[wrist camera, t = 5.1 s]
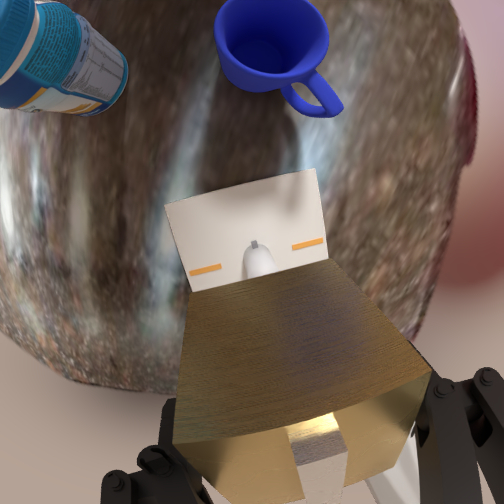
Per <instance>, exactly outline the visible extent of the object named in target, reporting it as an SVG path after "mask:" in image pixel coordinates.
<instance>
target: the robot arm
mask: <svg viewBox="0 0 504 504" xmlns="http://www.w3.org/2000/svg"><path fill="white" fill-rule="evenodd" d="M407 341H408V340H407ZM408 342H409V343H410V344H411V346H412V347H413V348H414V349H415V350H416V348H415V347H414V345H413V344H412V343H411V342H410V341H408ZM416 351H417V353H418V354H419V355H420V356H421V354H420V352H419V351H418V350H416ZM421 357H422V358H423V360H424V361H425V362H426V363H427V364H428V366H429V367H430V368H431V369H432V373H431V376H430V379H429V382H428V386H427V389H426V392H425V395H424V398H423V400H422V403H421V406H420V409H419V411H418V414H417V417H416V419H415V424H414V427H413V429H412V432H411V437H413V436H414V433H415V440H416V449H417V458H418V470H419V486H420V504H483V501H482V493H481V484H480V477H479V471H478V465H477V462H478V464H479V466H480V468H481V470H482V472H483V474H484V477H485V479H486V481H487V484H488V486H489V488H490V490H491V493H492V495H493V497H494V500H495V503H496V504H504V380H503V378H502V377H501V376H500V374H499V373H498V372H497V371H496V370H494V369H493V368H490V367H484V368H481V369H479V370H478V371H477V372H476V373H475V375H474V377H473V378H472V379H468V380H464V381H461V382H453V381H452V380H450V379H446V378H441V377H440V376H439V375H438V374H437V373H436V371H434V369H433V368H432V367H431V365H430V364H429V363H428V362H427V361H426V360H425V358H424V357H423V356H421ZM175 406H176V398H171V399H168V400H167V401H166V403H165V405H164V406H163V409H162V416H161V418H162V420H161V423H160V426H161V427H160V431H159V440H158V445H151V446H148V447H146V448H144V449H143V450H142V451H141V452H140V453H139V455H138V458H137V465H138V466H139V467H140V468H141V469H142V470H141V471H138V472H135V473H131V474H127V473H125V472H124V471H122V470H113V471H110V472H108V473H107V474H106V475H105V476H104V478H103V480H102V486H101V503H100V504H214V503H213V502H212V500H211V498H210V496H209V494H208V492H207V490H206V488H205V487H204V485H203V484H202V475H201V474H200V473H199V472H198V471H197V470H196V469H195V468H194V467H193V466H192V465H191V464H190V463H189V462H188V461H187V460H186V459H185V458H184V457H183V456H182V454H181V453H180V452H179V451H178V450H177V449H176V448H175V447H174V445H173V444H172V441H173V428H174V417H175ZM411 437H410V438H411Z"/></svg>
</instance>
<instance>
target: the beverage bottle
mask: <svg viewBox="0 0 504 504" xmlns="http://www.w3.org/2000/svg"><path fill="white" fill-rule="evenodd" d="M127 79H128V64H127V61H126V59H125V57H124V55H123V54H122V53H121V52H120V51H119V50H118V49H117V48H115V47H114V46H113V45H112V44H110V43H109V42H108V41H107V40H106V39H105V38H104V37H103V36H101V35H100V34H99V33H98V32H97V31H96V30H95V29H94V28H92V26H91V25H90V23H89V22H88V21H87V20H86V19H85V18H84V17H82V16H81V15H79V14H77V13H75V12H72V10H71V9H70V8H69V7H68V6H66V5H65V4H62V3H60V2H56V1H36V2H35V1H34V0H0V107H1V108H4V109H18V110H21V111H25V112H42V111H52V112H61V113H68V114H74V115H77V116H93V115H96V114H99V113H101V112H103V111H105V110H106V109H108V108H109V107H110V106H112V105H113V104H114V103H115V102H116V101H117V99H118V98H119V97H120V95H121V94H122V92H123V90H124V88H125V86H126V83H127Z"/></svg>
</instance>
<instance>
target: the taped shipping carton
mask: <svg viewBox="0 0 504 504" xmlns="http://www.w3.org/2000/svg"><path fill="white" fill-rule="evenodd" d="M431 373H432V369H431V368H430V367H429V366H428V364H427V363H426V362H425V361H424V360H423V358H422V357H421V356H420V355H419V354H418V353H417V351H416V350H415V349H414V348H413V347H412V346H411V344H410V343H409V342H408V341H407V340H406V339H405V337H404V336H403V335H402V334H401V333H400V332H399V331H398V330H397V328H396V327H395V326H394V325H393V324H392V323H391V322H390V321H389V319H388V318H387V317H386V316H385V315H384V314H383V313H382V312H381V311H380V309H379V308H378V307H377V306H376V305H375V304H374V303H373V302H372V301H371V300H370V299H369V298H368V296H367V295H366V294H365V293H364V292H363V291H362V290H361V289H360V288H359V287H358V286H357V285H356V284H355V283H354V281H353V280H352V279H351V278H350V277H349V276H348V275H347V274H346V273H345V272H344V271H343V270H342V269H341V268H340V267H339V266H338V265H337V264H336V263H335V262H334V261H333V260H332V259H331V258H329V259H325V260H321V261H317V262H313V263H310V264H306V265H302V266H298V267H294V268H290V269H286V270H282V271H278V272H275V273H271V274H267V275H263V276H259V277H255V278H250V279H246V280H242V281H238V282H234V283H230V284H226V285H222V286H217V287H213V288H209V289H205V290H200V291H196V292H192V293H190V297H189V303H188V310H187V316H186V323H185V330H184V337H183V345H182V353H181V361H180V369H179V377H178V386H177V396H176V406H175V417H174V428H173V441H172V444H173V445H174V447H175V448H176V449H177V450H178V451H179V452H180V453H181V454H182V456H183V457H184V458H185V459H186V460H187V461H188V462H189V463H190V464H191V465H192V466H193V467H194V468H195V469H196V470H197V471H198V472H199V473H200V474H201V475H202V476H203V477H204V478H205V479H206V480H207V481H208V482H209V483H210V484H211V485H212V486H213V487H214V488H215V489H216V490H217V491H218V492H219V493H220V494H221V495H223V496H224V497H225V498H226V499H227V500H228V501H229V502H230V503H232V504H283V503H288V502H292V501H297V500H301V499H306V503H307V504H340V502H341V497H342V491H343V487H346V486H348V485H351V484H354V483H357V482H359V481H362V480H365V479H367V478H370V477H372V476H375V475H377V474H379V473H382V472H384V471H386V470H388V469H391V468H393V467H394V466H395V464H396V462H397V460H398V458H399V456H400V454H401V452H402V449H403V447H404V445H405V443H406V441H407V438H408V436H409V434H410V431H411V429H412V427H413V424H414V422H415V419H416V417H417V414H418V411H419V409H420V406H421V403H422V400H423V398H424V395H425V392H426V389H427V386H428V382H429V379H430V376H431Z"/></svg>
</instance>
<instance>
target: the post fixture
mask: <svg viewBox="0 0 504 504" xmlns="http://www.w3.org/2000/svg"><path fill="white" fill-rule="evenodd" d="M164 207H165V210H166V214H167V217H168V220H169V223H170V227H171V230H172V233H173V236H174V239H175V242H176V245H177V248H178V251H179V254H180V257H181V260H182V263H183V266H184V269H185V272H186V274H187V277H188V280H189V283H190V286H191V288H192V291H193V292H196V291H200V290H205V289H209V288H213V287H217V286H222V285H226V284H230V283H234V282H238V281H242V280H246V279H250V278H255V277H259V276H263V275H267V274H271V273H275V272H278V271H282V270H286V269H290V268H294V267H298V266H302V265H306V264H310V263H313V262H317V261H321V260H325V259H328V251H327V243H326V235H325V228H324V221H323V214H322V207H321V200H320V194H319V188H318V182H317V176H316V170H315V168H312V169H307V170H302V171H297V172H292V173H287V174H283V175H278V176H274V177H269V178H265V179H260V180H256V181H252V182H247V183H243V184H239V185H235V186H231V187H227V188H223V189H219V190H215V191H211V192H208V193H204V194H200V195H196V196H193V197H189V198H186V199H182V200H179V201H175V202H172V203H168V204H165V205H164Z"/></svg>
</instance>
